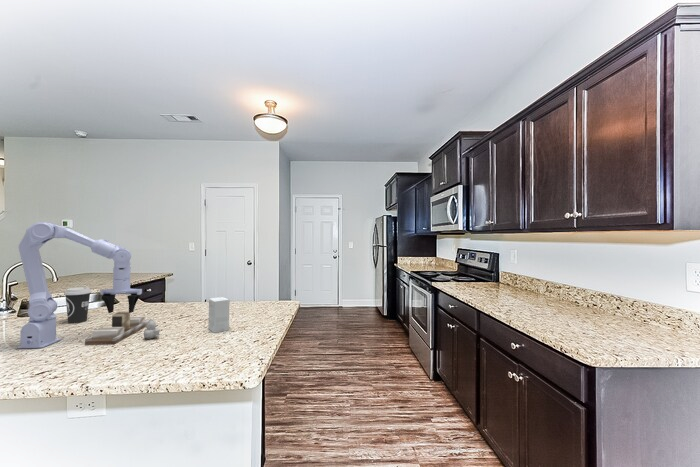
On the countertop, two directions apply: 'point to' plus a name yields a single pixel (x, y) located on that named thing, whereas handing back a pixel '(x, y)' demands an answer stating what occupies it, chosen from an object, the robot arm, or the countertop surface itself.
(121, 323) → the block
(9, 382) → the countertop surface
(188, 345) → the countertop surface
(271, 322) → the countertop surface
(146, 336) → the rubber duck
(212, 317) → the small box
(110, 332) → the rail board
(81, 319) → the coffee cup
